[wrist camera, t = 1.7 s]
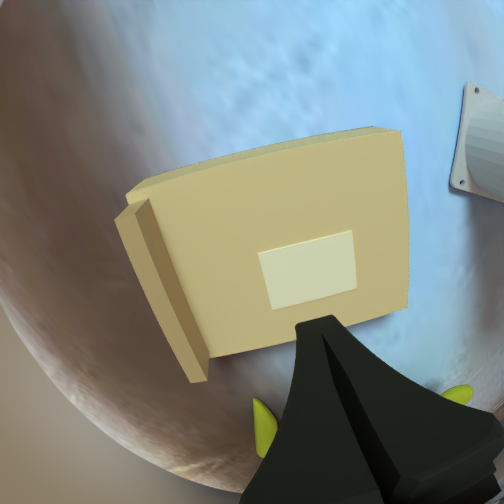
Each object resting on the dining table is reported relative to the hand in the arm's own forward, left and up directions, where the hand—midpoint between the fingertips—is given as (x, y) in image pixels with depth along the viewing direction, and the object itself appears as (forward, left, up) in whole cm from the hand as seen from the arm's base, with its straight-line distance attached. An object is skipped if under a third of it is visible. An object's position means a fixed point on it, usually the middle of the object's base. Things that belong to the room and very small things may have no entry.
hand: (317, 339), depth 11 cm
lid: (0, 0, -7) cm, 7 cm away
